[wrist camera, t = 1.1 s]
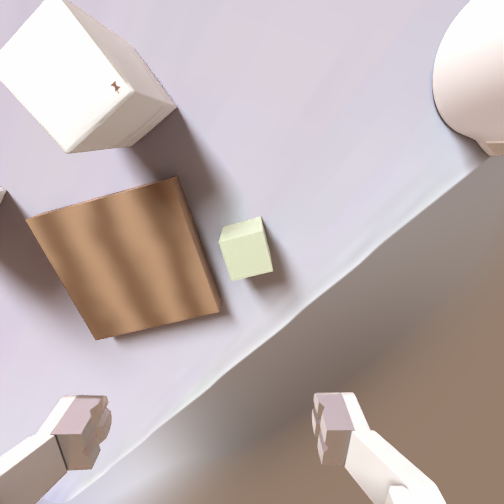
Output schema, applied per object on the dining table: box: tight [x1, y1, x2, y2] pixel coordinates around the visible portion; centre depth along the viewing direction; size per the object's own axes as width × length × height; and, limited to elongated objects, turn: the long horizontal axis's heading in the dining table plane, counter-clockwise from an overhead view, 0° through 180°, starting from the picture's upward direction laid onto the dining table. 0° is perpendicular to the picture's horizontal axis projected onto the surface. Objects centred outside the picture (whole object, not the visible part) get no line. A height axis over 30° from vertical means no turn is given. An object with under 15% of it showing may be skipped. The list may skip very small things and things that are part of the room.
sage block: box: [219, 217, 273, 281], centre depth 35 cm, size 5×5×6 cm
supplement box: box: [0, 0, 177, 154], centre depth 26 cm, size 7×7×13 cm
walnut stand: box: [26, 176, 221, 340], centre depth 37 cm, size 18×18×3 cm
